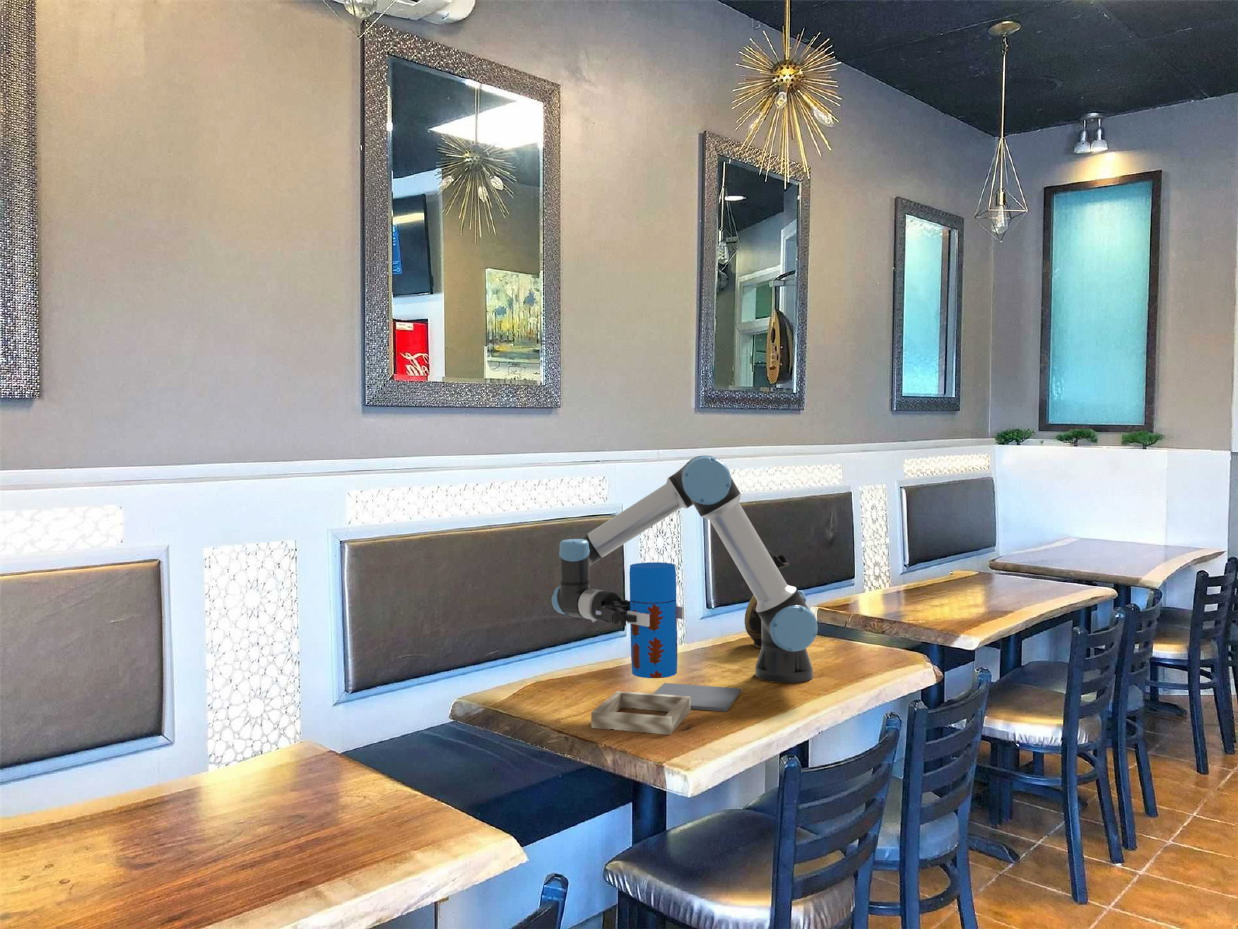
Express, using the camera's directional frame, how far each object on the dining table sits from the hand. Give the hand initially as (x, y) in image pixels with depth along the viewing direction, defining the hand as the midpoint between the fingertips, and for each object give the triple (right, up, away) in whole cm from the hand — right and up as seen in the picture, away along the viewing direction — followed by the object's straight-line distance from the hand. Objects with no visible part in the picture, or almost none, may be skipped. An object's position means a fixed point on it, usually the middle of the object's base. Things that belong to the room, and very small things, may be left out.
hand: (666, 616), depth 210 cm
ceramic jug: (+35, -21, +71) cm, 82 cm away
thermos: (-3, -14, +3) cm, 14 cm away
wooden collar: (-5, -23, -2) cm, 24 cm away
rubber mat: (+8, -22, +15) cm, 28 cm away
